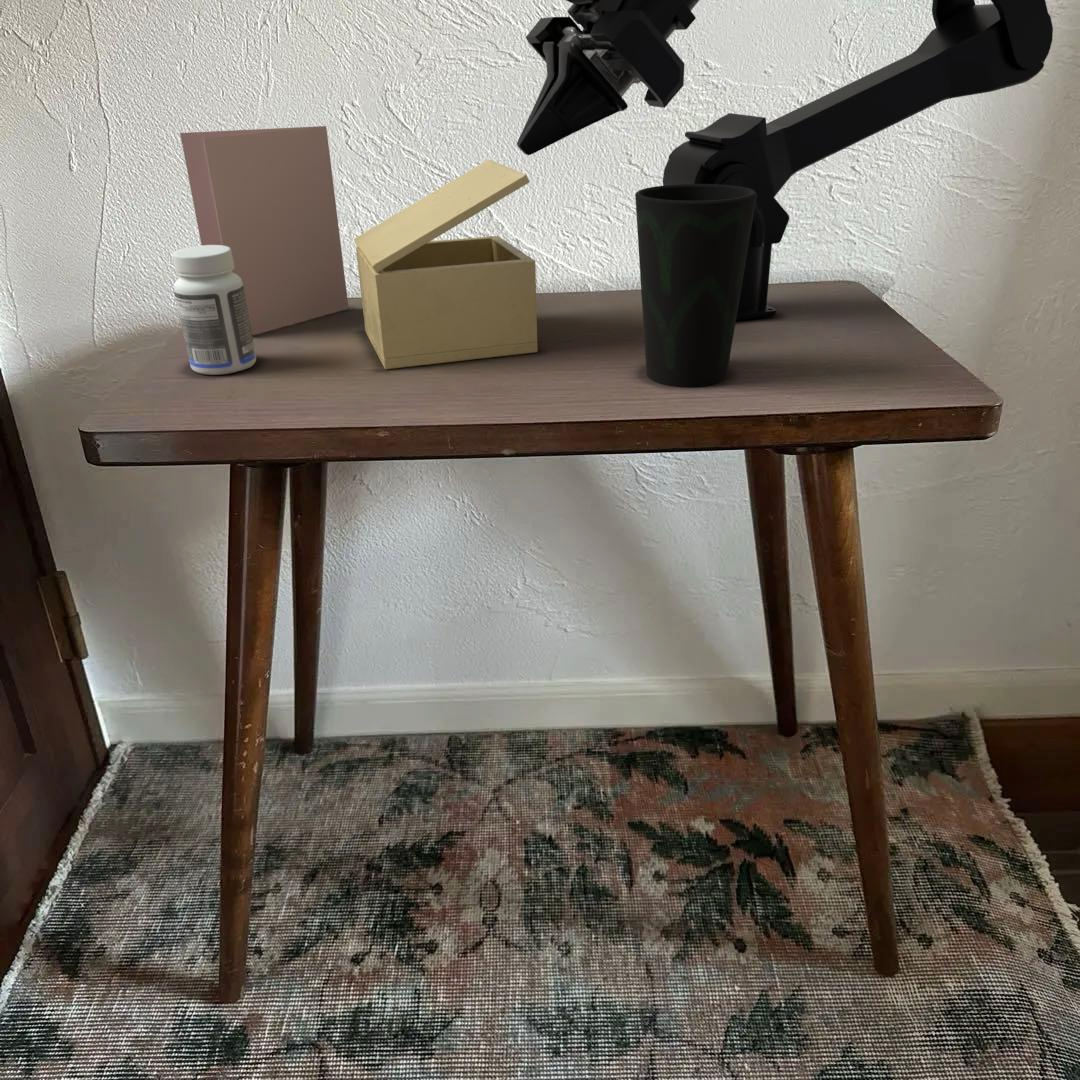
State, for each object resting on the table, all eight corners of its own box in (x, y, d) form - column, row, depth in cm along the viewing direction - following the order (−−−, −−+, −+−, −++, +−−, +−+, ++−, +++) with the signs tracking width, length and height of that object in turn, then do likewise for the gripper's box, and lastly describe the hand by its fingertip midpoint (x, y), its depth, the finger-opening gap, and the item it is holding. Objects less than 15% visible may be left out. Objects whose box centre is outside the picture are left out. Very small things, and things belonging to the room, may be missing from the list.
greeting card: (347, 306, 84) (325, 125, 77) (355, 327, 78) (331, 132, 71) (216, 318, 82) (180, 132, 75) (212, 340, 76) (173, 140, 69)
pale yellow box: (501, 318, 80) (498, 235, 76) (537, 352, 71) (535, 260, 67) (365, 332, 77) (355, 247, 74) (384, 369, 68) (374, 274, 65)
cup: (758, 387, 62) (775, 197, 57) (647, 396, 61) (653, 204, 56) (720, 353, 69) (732, 181, 63) (619, 361, 68) (622, 187, 62)
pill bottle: (237, 352, 72) (217, 240, 68) (268, 365, 69) (249, 248, 65) (179, 367, 70) (154, 251, 66) (209, 380, 67) (185, 260, 63)
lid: (492, 166, 74) (488, 158, 74) (530, 182, 65) (526, 174, 65) (357, 245, 74) (353, 239, 73) (376, 273, 65) (371, 265, 64)
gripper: (549, -105, 70) (416, 64, 73) (646, -150, 54) (471, 68, 57) (643, 14, 76) (517, 167, 78) (755, 4, 60) (592, 196, 63)
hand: (522, 150), depth 69 cm, fingers closed
